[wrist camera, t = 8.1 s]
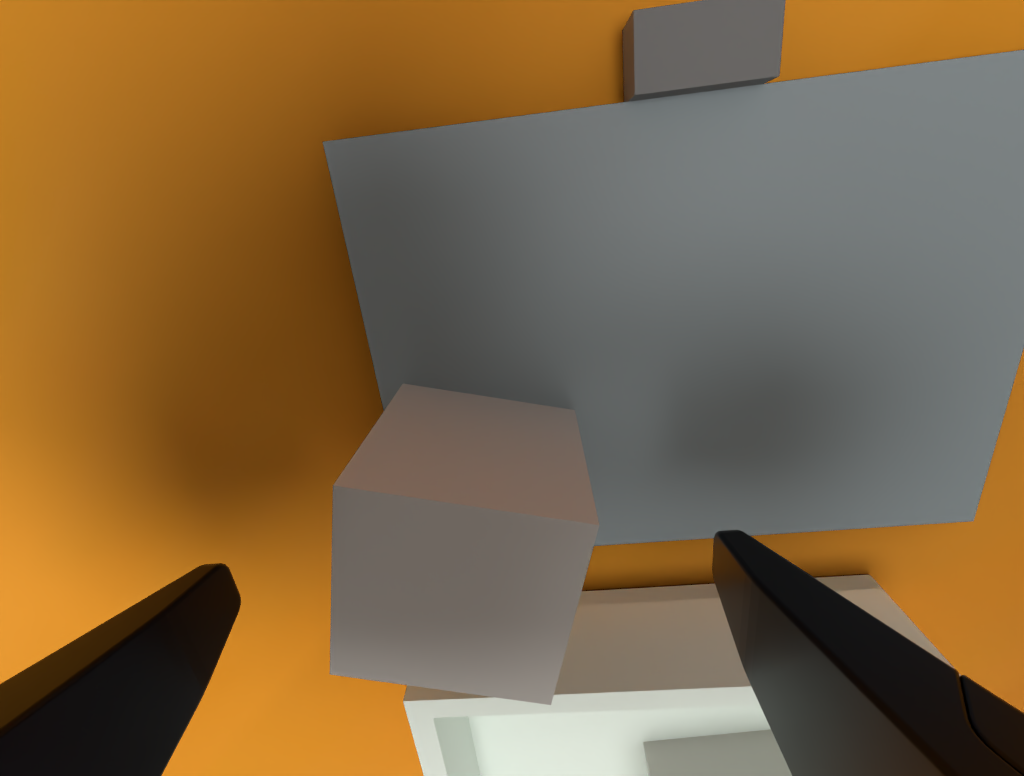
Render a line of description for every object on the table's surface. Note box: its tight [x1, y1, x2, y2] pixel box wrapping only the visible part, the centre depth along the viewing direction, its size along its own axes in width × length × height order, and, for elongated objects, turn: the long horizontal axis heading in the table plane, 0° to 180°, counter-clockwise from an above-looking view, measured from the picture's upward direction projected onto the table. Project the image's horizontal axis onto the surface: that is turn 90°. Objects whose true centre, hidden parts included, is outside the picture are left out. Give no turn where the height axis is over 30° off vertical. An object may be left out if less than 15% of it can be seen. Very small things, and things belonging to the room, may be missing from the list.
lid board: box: [323, 0, 1024, 546], centre depth 10 cm, size 14×11×1 cm
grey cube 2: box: [330, 384, 599, 705], centre depth 10 cm, size 4×4×4 cm
